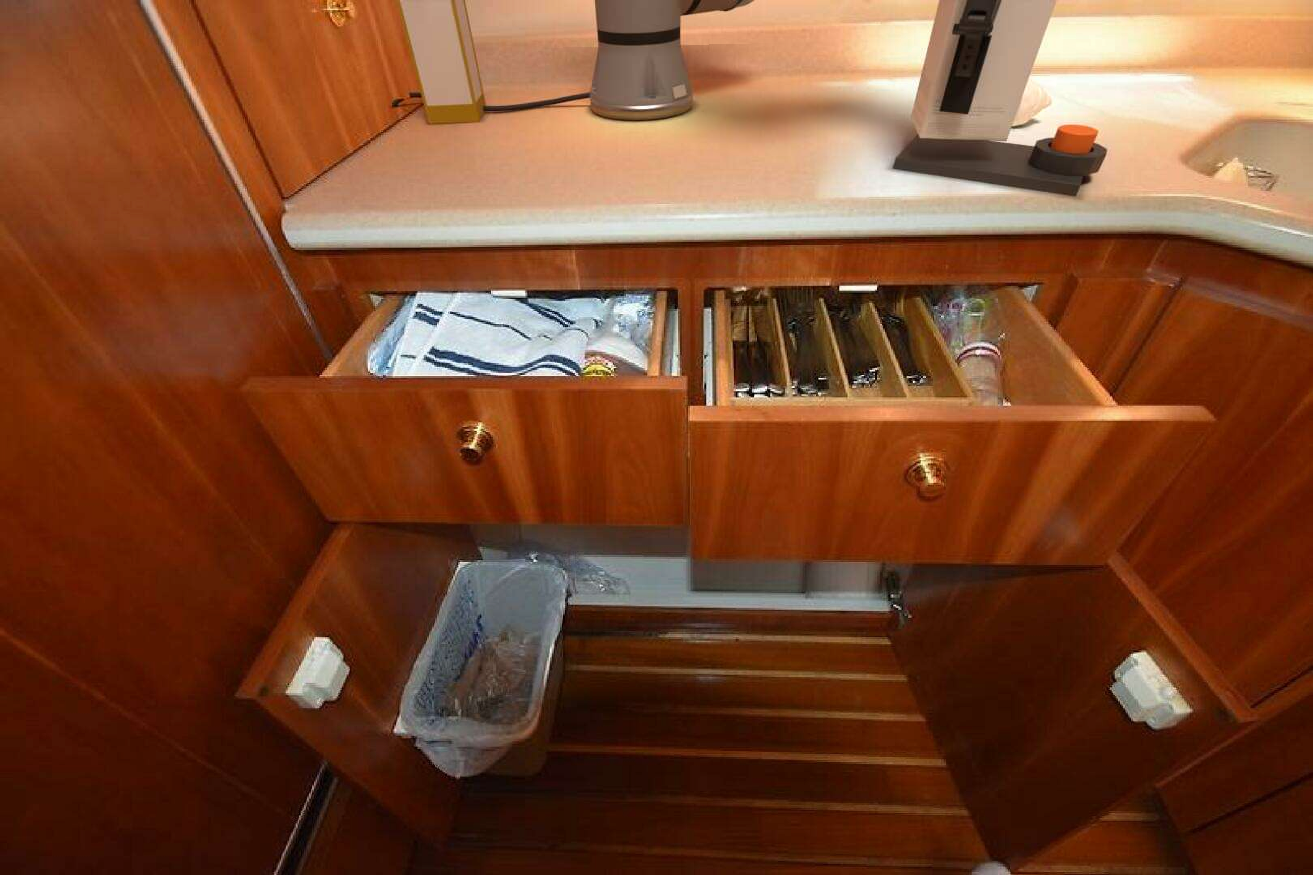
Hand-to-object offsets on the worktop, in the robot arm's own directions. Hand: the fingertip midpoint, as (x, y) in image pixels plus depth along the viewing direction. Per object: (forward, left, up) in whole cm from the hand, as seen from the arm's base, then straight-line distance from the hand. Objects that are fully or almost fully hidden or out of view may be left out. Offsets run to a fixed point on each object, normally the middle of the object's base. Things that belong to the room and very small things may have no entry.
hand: (964, 99), depth 63 cm
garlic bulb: (+5, +19, -6) cm, 21 cm away
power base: (+4, 0, -6) cm, 8 cm away
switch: (+11, 0, -4) cm, 12 cm away
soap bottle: (-65, -13, -6) cm, 67 cm away
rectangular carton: (0, 0, -3) cm, 3 cm away
